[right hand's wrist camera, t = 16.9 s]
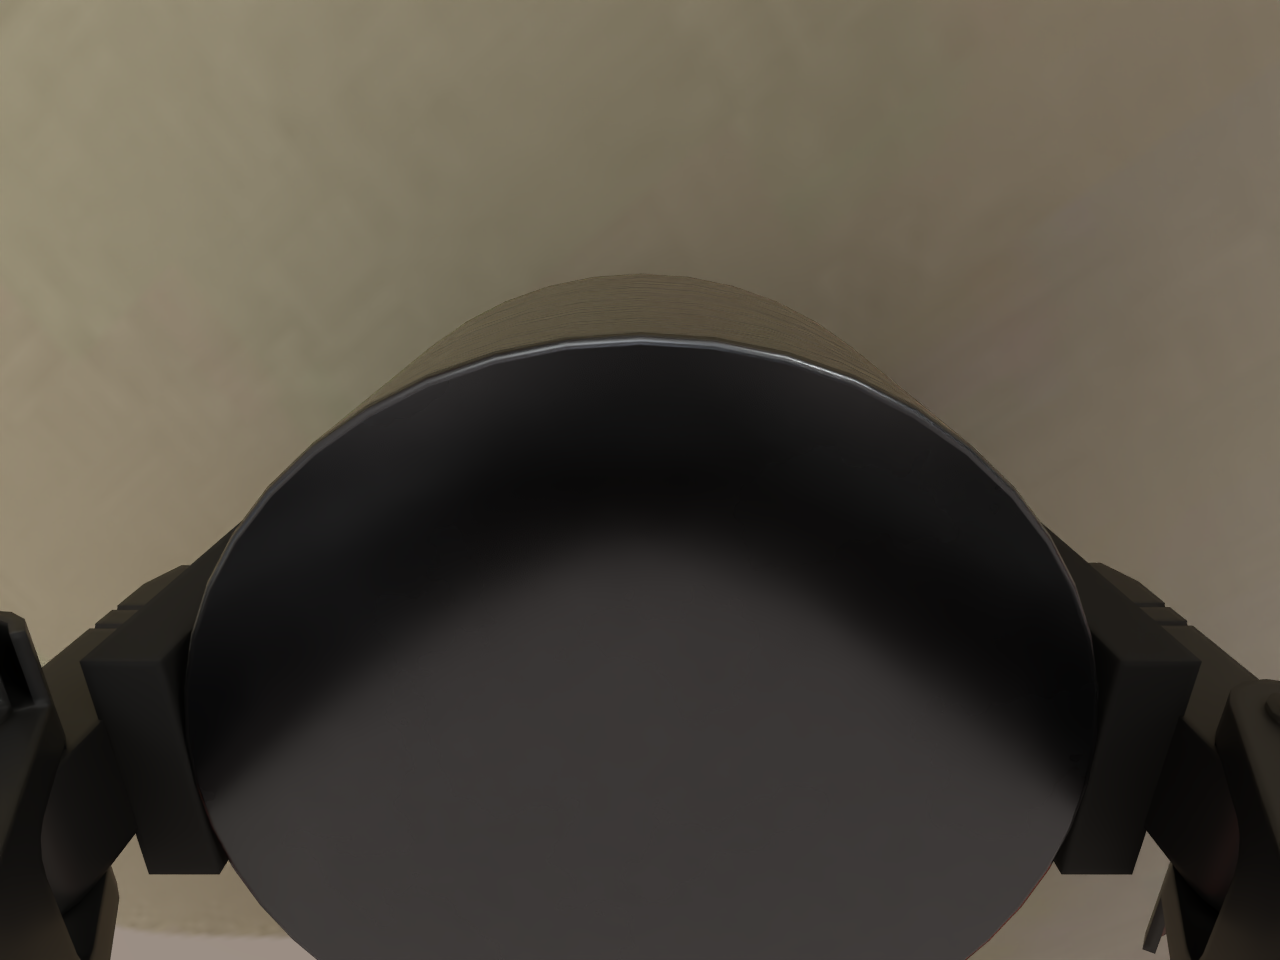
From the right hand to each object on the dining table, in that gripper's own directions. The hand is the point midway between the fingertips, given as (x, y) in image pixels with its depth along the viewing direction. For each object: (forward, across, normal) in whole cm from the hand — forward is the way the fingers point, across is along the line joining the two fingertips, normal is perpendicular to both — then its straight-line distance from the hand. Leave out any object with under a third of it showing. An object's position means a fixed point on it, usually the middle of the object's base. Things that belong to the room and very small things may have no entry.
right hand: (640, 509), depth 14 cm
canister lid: (-3, 0, 0) cm, 3 cm away
